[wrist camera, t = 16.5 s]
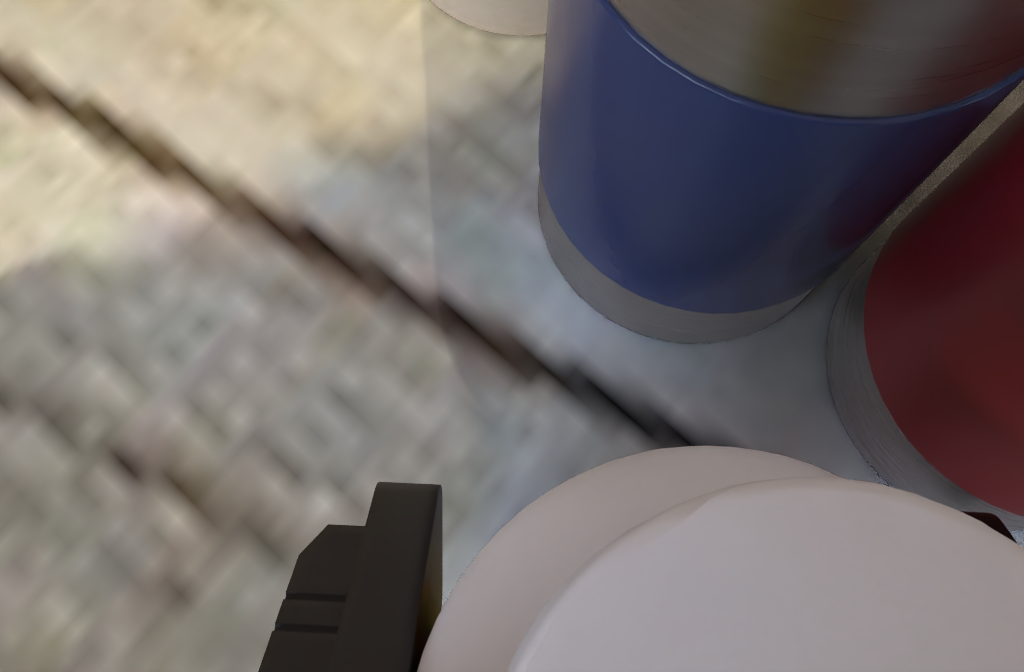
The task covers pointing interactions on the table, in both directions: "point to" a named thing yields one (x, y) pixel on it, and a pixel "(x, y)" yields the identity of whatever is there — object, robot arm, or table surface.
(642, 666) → the supplement bottle
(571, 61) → the navy tin
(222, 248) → the table surface
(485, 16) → the candle
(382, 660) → the robot arm
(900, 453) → the burgundy tin
